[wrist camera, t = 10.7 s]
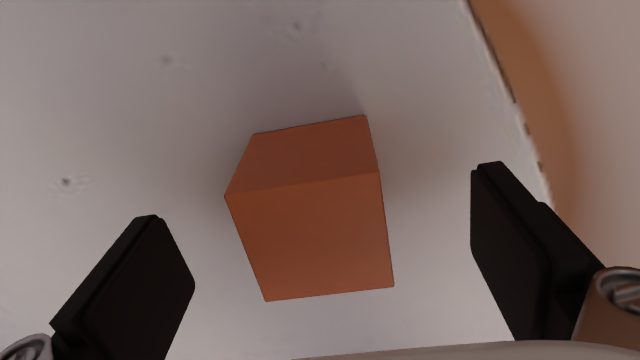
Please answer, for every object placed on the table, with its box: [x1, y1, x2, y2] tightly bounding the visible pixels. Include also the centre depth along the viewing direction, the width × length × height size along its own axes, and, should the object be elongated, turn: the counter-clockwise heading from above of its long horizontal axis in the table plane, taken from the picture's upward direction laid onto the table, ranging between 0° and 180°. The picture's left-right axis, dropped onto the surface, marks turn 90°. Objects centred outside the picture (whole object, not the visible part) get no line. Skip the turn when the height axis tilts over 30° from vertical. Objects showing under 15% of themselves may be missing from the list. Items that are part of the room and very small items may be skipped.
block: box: [224, 115, 394, 302], centre depth 12 cm, size 4×4×4 cm
